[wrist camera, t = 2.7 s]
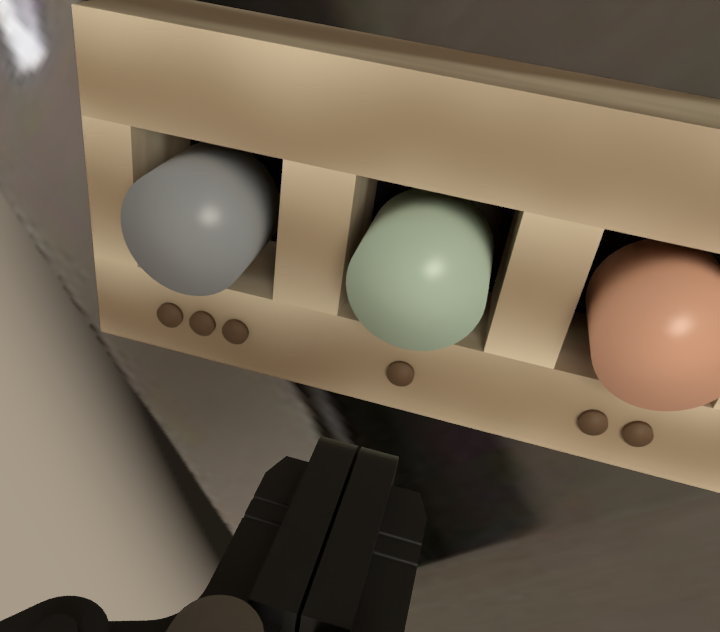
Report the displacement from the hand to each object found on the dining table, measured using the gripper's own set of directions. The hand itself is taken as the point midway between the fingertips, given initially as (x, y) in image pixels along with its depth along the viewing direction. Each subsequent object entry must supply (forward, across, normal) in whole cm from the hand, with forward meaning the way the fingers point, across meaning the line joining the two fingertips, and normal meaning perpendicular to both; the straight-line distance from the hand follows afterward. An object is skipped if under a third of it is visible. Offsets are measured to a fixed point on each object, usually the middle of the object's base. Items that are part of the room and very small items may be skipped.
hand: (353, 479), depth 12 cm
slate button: (+10, +7, 0) cm, 13 cm away
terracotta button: (+10, -7, 0) cm, 13 cm away
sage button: (+10, 0, 0) cm, 10 cm away
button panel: (+13, 0, 0) cm, 13 cm away
